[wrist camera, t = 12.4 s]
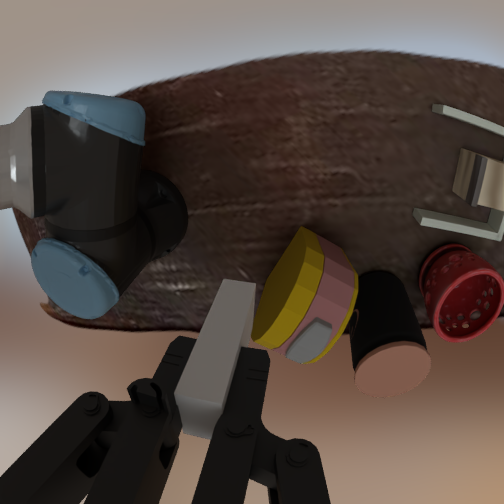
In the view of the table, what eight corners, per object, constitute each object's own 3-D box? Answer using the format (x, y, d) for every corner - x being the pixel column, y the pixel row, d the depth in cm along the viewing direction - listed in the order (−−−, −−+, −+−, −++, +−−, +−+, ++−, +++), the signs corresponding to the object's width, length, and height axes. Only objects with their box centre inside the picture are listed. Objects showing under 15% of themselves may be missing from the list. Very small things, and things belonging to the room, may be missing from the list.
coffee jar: (339, 276, 50) (349, 356, 34) (401, 262, 47) (433, 336, 31) (349, 324, 54) (358, 403, 38) (405, 311, 51) (429, 387, 35)
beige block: (451, 190, 40) (471, 205, 34) (460, 147, 37) (482, 156, 30) (492, 201, 39) (513, 217, 33) (501, 161, 35) (525, 173, 29)
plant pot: (479, 283, 46) (506, 323, 35) (420, 309, 50) (437, 355, 40) (471, 222, 41) (506, 257, 31) (404, 251, 46) (427, 293, 35)
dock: (412, 214, 43) (420, 224, 39) (432, 103, 34) (443, 105, 31) (489, 230, 41) (500, 241, 37) (512, 133, 33) (526, 137, 29)
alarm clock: (302, 307, 54) (297, 390, 38) (261, 287, 53) (241, 367, 37) (351, 242, 47) (370, 317, 31) (306, 216, 46) (305, 284, 30)
